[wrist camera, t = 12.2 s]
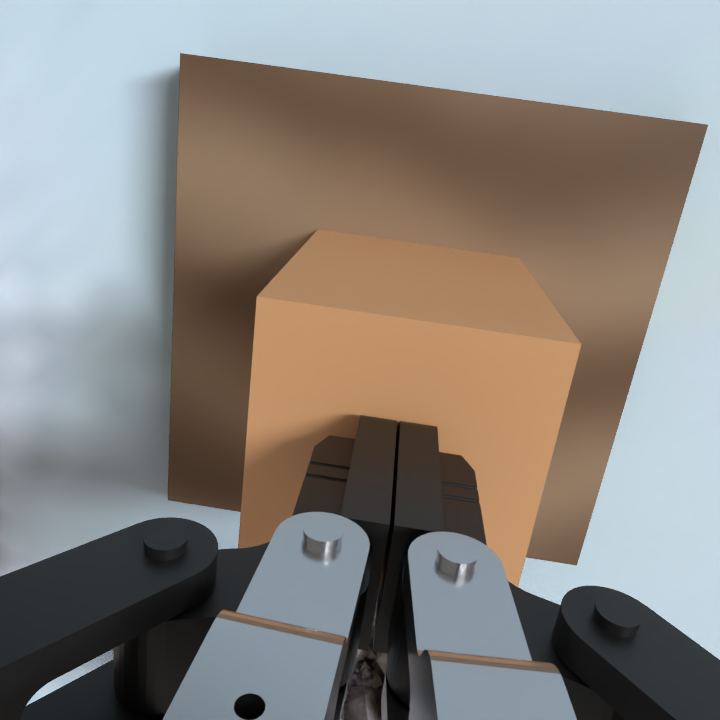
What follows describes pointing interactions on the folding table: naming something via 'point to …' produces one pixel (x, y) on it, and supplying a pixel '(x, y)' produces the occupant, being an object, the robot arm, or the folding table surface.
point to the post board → (413, 238)
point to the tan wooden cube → (407, 372)
